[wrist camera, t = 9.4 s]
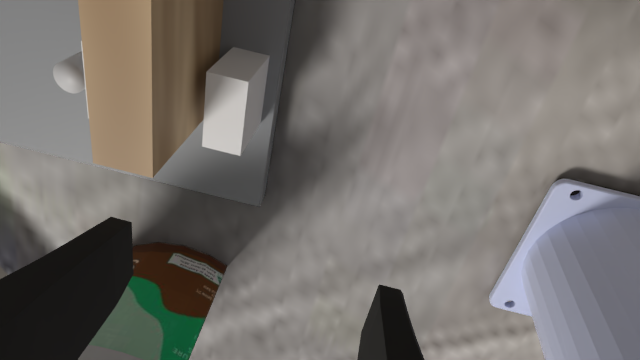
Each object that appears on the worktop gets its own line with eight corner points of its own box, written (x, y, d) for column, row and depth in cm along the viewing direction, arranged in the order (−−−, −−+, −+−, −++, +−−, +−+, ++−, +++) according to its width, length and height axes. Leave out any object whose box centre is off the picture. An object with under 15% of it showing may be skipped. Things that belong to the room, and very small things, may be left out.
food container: (149, 184, 24) (13, 341, 16) (242, 252, 26) (164, 428, 17) (59, 295, 30) (-74, 452, 22) (139, 345, 32) (44, 509, 23)
